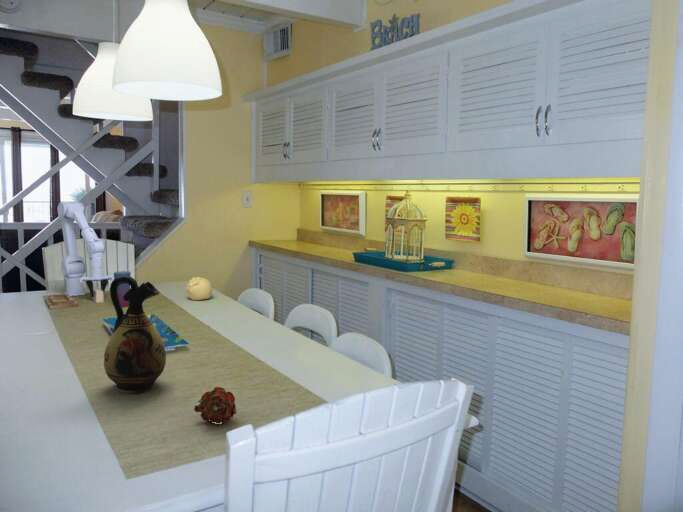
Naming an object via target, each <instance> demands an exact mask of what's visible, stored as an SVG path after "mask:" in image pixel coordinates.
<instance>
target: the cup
mask: <svg viewBox="0 0 683 512" xmlns="http://www.w3.org/2000/svg"><path fill="white" fill-rule="evenodd" d="M122 275H126V276H130V277H131V271H129V270H128V271H127V270H126V271H125V270H121V271H114V272H113V276H114V279H115V278H117V277H119V276H122ZM130 289H131V286H130V285H129V284H127V283H125V284H120V285H119V286H118V288H117V293H118V297H119V300H120V304H121V307H122V308H128V307H129V301H125V300H124V298H123V297H124V295H125V294H126V292H127V291H129V290H130Z"/></svg>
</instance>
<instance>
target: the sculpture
mask: <svg viewBox="0 0 683 512" xmlns="http://www.w3.org/2000/svg"><path fill="white" fill-rule="evenodd" d="M185 291H186V292H185V293H186V294H187V297H188V298H189V299H191V301H201V300H209V299H210V298H211V297H212V293H213V285H212V283H211V281H210V280H209V279H207V278H205V277H202V276H196V277H192V278H191V279H189V280H188V283H186V286H185Z"/></svg>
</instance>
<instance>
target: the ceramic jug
mask: <svg viewBox="0 0 683 512" xmlns="http://www.w3.org/2000/svg"><path fill="white" fill-rule="evenodd" d="M111 281H112V282H111V283H110V287H109V293H110V294H109V295H110V298H111V301H112V304H113V307H114V310H115V312H116V313H115V314H116V320H115V323H114V327H113V331H112V334H111V335H110V337H109V339H108V341H107V344H106V348H105V351H104V356H103V368H104V371H105V374H106V375H107V378H109V379H110V381H112V382H113V383H114V384H115V390H116V391H118V392H121V393H123V394H132V395H135V394H134V393H141V394H143V393H146V392H149V391H148V390H150V391H152V390H153V389H152V388H154V389H155V383H156V381H157V380H158V379H159V377H160V376H161V375H162V374H163V372H164V370H165V367H166V364H167V363H166V362H167V353H166V349H165V345H164V341H163V339H162V336H161V334H160V332H159V331H158V329H157V327H155V324H154V323H153V322H152V320H151V319H150V318H149V316H148V315H147V314H146V312H145V311H144V307H143V303H144V302H145V301H146V300H148V299H150V298H153V297H155V296H158V295H159V294H160V292H159V290H158V289H157V288H156V287H155V285H153V283H151V282H150V281H146V282H142V283H141V284H140V285H138V283H137V280H136V279H135V278H133V277H132V276H131V275H130V276H126V275H122V276H119V277H117V278H115V279H114V280H111ZM125 283H127V284H129V285H130V290H129V291H127V292H126V294H125V295H124V297H123V298H124V300H125V301H129V306H128V307H127V309H126V311H125V313H124V310H123V307H121V304H120V300H119V297H118V293H117V288H118V286H119V285H120V284H125ZM151 389H152V390H151ZM145 391H146V392H145ZM142 392H143V393H142Z"/></svg>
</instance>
